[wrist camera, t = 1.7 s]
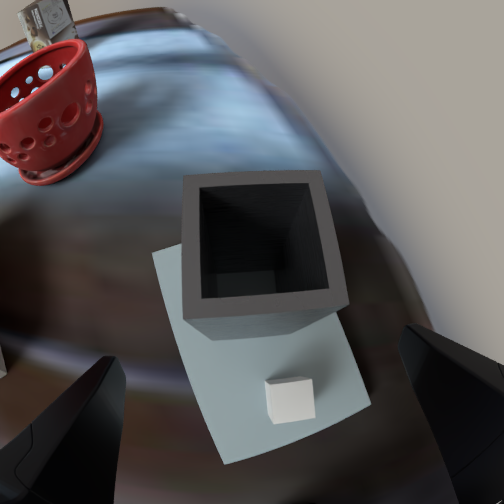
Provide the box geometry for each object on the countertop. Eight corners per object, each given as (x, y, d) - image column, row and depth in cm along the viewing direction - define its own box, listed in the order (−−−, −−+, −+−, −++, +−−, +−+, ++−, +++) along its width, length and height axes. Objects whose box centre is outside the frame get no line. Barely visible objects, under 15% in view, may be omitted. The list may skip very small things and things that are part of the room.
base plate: (362, 402, 18) (391, 409, 14) (225, 457, 16) (222, 481, 12) (287, 219, 23) (297, 189, 19) (157, 260, 21) (139, 236, 17)
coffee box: (84, 49, 35) (66, -14, 20) (61, 67, 33) (37, 2, 18) (60, 51, 36) (41, -4, 21) (38, 69, 34) (15, 12, 19)
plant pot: (38, 220, 22) (-32, 150, 11) (18, 157, 25) (-25, 97, 14) (135, 143, 26) (103, 47, 15) (94, 99, 29) (68, 28, 18)
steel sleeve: (289, 334, 18) (349, 304, 9) (212, 340, 18) (182, 319, 8) (281, 261, 20) (320, 170, 10) (207, 266, 20) (183, 175, 10)
